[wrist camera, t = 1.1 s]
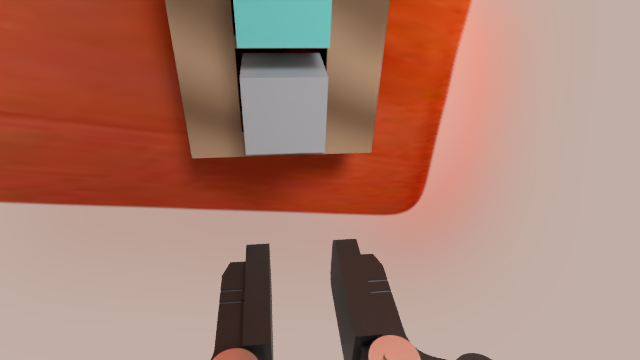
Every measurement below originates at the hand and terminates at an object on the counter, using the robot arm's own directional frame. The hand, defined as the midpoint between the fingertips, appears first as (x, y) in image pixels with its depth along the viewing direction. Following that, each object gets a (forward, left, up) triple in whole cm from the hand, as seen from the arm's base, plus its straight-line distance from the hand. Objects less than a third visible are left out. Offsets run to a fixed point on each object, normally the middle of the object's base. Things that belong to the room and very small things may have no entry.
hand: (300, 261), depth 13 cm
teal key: (-6, 0, -15) cm, 16 cm away
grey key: (0, 0, -15) cm, 15 cm away
